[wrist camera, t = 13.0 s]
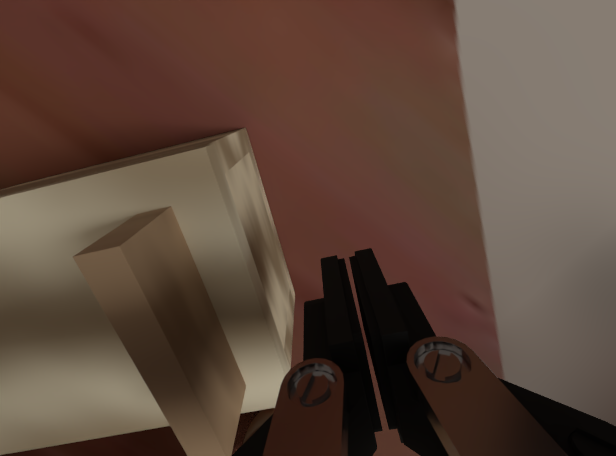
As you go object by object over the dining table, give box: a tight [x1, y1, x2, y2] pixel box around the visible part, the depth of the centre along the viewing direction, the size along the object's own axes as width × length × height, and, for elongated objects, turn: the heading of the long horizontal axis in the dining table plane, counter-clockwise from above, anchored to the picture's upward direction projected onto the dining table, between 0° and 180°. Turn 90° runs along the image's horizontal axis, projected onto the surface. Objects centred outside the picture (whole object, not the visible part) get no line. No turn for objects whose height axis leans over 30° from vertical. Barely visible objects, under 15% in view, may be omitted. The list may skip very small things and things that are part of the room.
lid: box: [0, 143, 290, 456], centre depth 14 cm, size 11×16×10 cm
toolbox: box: [0, 128, 295, 369], centre depth 16 cm, size 11×14×7 cm
